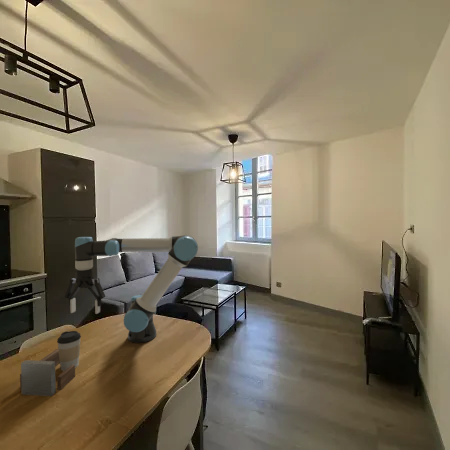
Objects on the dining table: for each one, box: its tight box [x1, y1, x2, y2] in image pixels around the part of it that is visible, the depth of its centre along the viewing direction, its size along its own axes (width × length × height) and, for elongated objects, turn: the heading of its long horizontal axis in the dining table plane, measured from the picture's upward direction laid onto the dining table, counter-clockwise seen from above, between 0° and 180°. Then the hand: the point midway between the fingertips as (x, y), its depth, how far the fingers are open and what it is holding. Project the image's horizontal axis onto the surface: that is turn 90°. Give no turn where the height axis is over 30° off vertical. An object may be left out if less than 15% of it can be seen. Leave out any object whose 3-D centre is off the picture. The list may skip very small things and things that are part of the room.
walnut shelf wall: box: [19, 348, 76, 391], centre depth 106 cm, size 16×19×6 cm
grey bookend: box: [20, 359, 57, 397], centre depth 95 cm, size 12×2×12 cm, turn 85°
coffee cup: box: [57, 330, 82, 372], centre depth 112 cm, size 9×9×15 cm
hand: (85, 312), depth 123 cm, fingers open, 12 cm apart
